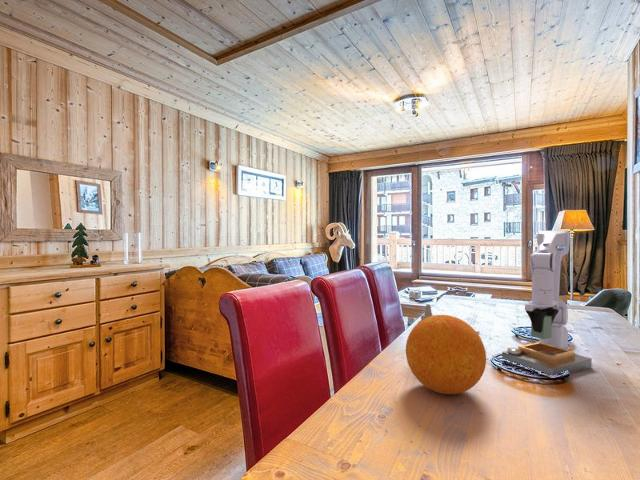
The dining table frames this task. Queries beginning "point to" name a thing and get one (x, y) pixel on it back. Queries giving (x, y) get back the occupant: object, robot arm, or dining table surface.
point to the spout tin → (543, 329)
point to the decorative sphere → (445, 354)
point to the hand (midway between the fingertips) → (541, 331)
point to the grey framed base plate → (547, 358)
